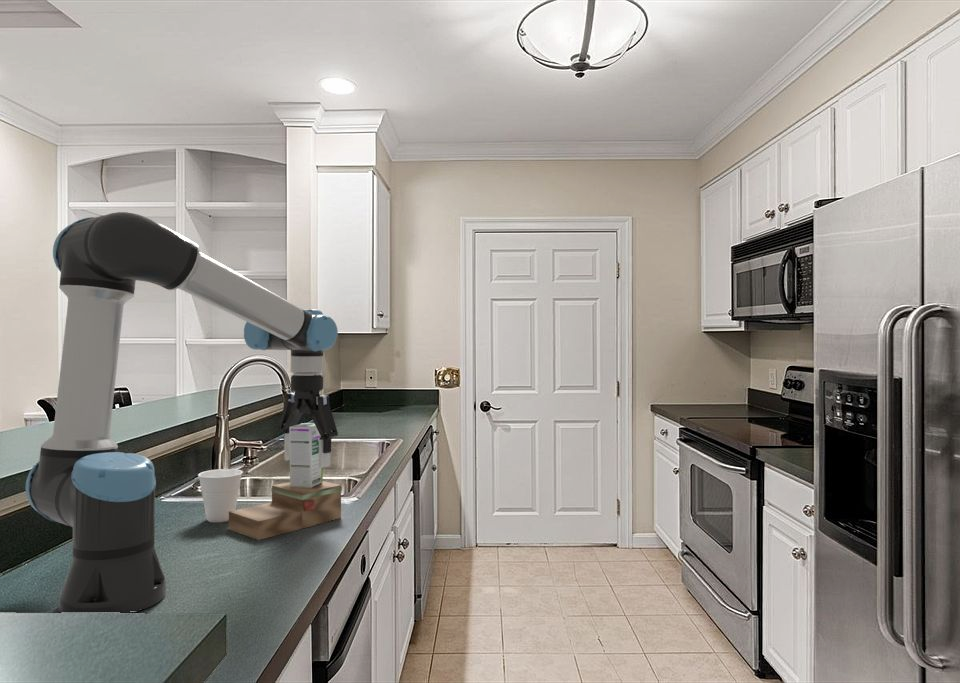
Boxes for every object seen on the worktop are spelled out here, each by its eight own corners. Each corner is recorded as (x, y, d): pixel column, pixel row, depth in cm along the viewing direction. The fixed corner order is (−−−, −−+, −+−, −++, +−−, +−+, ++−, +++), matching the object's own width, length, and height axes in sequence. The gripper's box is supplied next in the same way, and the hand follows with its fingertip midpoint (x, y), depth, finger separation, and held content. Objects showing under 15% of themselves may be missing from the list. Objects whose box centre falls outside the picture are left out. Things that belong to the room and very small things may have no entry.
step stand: (260, 540, 138) (260, 503, 138) (228, 529, 146) (228, 493, 146) (343, 518, 155) (343, 485, 155) (310, 509, 163) (310, 477, 163)
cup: (191, 518, 154) (191, 472, 154) (233, 511, 161) (233, 467, 161) (206, 527, 147) (206, 479, 147) (249, 520, 154) (249, 473, 154)
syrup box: (311, 488, 152) (311, 426, 152) (288, 486, 153) (289, 425, 153) (323, 483, 157) (323, 423, 157) (300, 481, 159) (301, 422, 159)
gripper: (353, 375, 150) (353, 467, 150) (289, 371, 166) (289, 454, 166) (327, 376, 144) (326, 472, 144) (263, 372, 160) (263, 458, 160)
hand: (306, 463), depth 155 cm, fingers open, 13 cm apart
